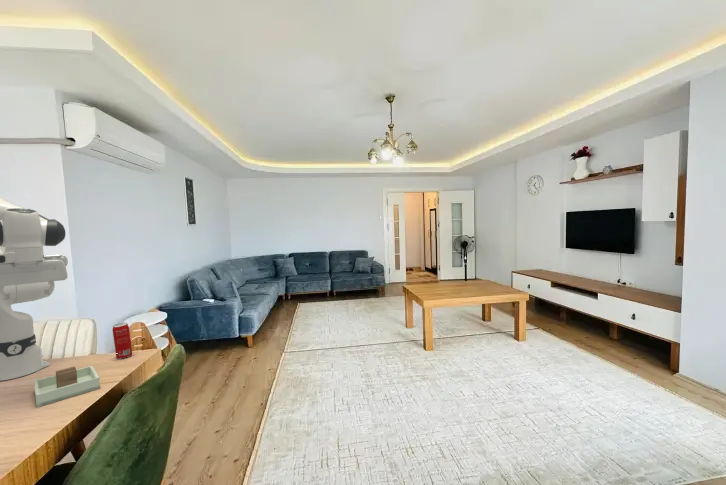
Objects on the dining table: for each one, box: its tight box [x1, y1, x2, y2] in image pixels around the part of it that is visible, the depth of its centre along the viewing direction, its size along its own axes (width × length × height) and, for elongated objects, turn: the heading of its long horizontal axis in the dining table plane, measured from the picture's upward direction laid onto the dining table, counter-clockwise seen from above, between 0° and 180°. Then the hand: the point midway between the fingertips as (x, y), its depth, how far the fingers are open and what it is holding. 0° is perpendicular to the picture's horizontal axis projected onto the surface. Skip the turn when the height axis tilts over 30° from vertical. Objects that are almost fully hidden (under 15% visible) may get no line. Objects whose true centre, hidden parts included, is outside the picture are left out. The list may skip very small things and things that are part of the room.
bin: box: [33, 365, 101, 408], centre depth 111 cm, size 16×16×4 cm
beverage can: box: [112, 322, 133, 360], centre depth 140 cm, size 6×6×15 cm
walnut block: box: [55, 366, 77, 388], centre depth 111 cm, size 5×5×6 cm
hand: (27, 297), depth 107 cm, fingers open, 8 cm apart
